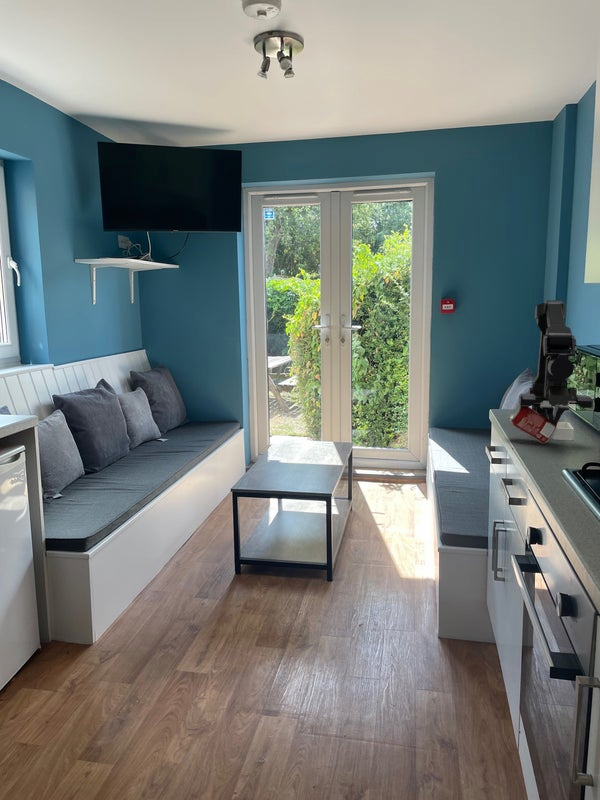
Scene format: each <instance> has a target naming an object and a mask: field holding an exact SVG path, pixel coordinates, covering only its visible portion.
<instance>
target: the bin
mask: <svg viewBox="0 0 600 800" xmlns="http://www.w3.org/2000/svg"><path fill="white" fill-rule="evenodd" d="M574 435H575V429H574V427H573V426H572V424H571V423H570V422H569V421H568V422H567V421H566V422H565V421H558V423H557V431H556V433H555V435H554V437H553V438H552V439H551V440H555V441H556V440H557V441H559V440H560V441H571V442H572V441H574ZM529 437H530V438H532V437H531V436H529Z"/></svg>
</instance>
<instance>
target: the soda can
mask: <svg viewBox="0 0 600 800" xmlns="http://www.w3.org/2000/svg"><path fill="white" fill-rule="evenodd" d="M508 419H509V422H511V424H512V426H513V427H515V428H517V429H519V430H520V431H522V432H523V433H524V434H526V435H528V436H529V437H530V436H531V437H530V438H533V439H534V440H535V441H537V442H539V443H541V444H542V445H543V444H544V445H545V444H546V443H549V442H550V441H551V440H553V439H552V438H553V437H554V435H555V433H556V431H557V426H555V425H553V424H551V423H550V421H549V419H547V418H545V417H544V416H542V415H541V414H539V413H537V412H536V411H534V410H533V409H532V407H530V406H523V405H520V404H519V405H518V406H516V408H515V409H514V410H513V411H512V412H511V414H510V416H509V418H508Z"/></svg>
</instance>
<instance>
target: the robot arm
mask: <svg viewBox="0 0 600 800" xmlns="http://www.w3.org/2000/svg"><path fill="white" fill-rule="evenodd" d="M566 307H567V305H566V304H565V303H564V302H563V300H560V299H559V300H558V299H555V300H554V299H552V300H551V299H550V300H549V299H548V300H544V302H542V303H539V304H537V305H536V306H535V310H534V320H536V324H537V327H538V328H539V330H540V338H539V339H540V340H539V352H538V364H537V374H536V376H535V377H534V378H533V379H532V381H531V387H528V393H520V394H519V395H518V403H519V405H522V406H528V407H531V409H533V410H534V411H536V412H537V413H539V414H541V415H542V416H544V417H545V418H547V419H549V421H550V423H551V424H553V425H555V426H557V423H558V422H560V418H561V417H562V415H563V413H564V412H565V411H570V407H569V406H570V405H577V406H578V407H579V408H583V409H584V408H585V409H587V408H588V409H592V408H593V407H594V405H593V404H594V399H593V398H592V397H591V396H589V395H585V394H584V395H583V394H581V395H580V394H578V389H577V387H568V379H569V378H570V377H571V376H572V375H573V374H574V371H575V367H574V364H573V362H572V361H571V360H570V357H576V354H577V353H578V347H577V340H576V337H575V335H574V334H573V333H572V330H571V328H570V327H569V326H566V325H565V320H564V319H565V318H566V313H567V311H566V310H567V308H566Z"/></svg>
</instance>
